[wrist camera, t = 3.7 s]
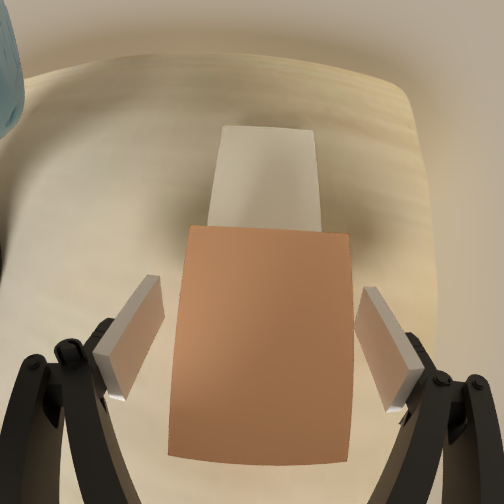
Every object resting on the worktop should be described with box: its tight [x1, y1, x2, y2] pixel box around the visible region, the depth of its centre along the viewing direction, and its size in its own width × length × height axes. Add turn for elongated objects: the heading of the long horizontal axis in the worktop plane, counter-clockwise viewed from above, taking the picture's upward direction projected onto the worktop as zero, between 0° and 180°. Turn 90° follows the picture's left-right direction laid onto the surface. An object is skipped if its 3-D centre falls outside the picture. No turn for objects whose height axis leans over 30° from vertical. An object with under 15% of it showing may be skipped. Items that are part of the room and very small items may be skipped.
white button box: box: [207, 125, 322, 232], centre depth 21 cm, size 7×12×5 cm, turn 177°
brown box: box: [168, 225, 354, 466], centre depth 13 cm, size 5×7×12 cm
